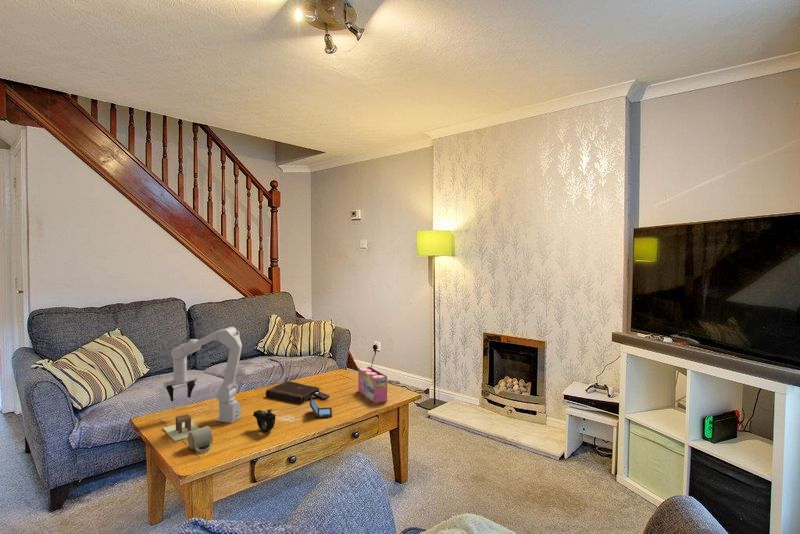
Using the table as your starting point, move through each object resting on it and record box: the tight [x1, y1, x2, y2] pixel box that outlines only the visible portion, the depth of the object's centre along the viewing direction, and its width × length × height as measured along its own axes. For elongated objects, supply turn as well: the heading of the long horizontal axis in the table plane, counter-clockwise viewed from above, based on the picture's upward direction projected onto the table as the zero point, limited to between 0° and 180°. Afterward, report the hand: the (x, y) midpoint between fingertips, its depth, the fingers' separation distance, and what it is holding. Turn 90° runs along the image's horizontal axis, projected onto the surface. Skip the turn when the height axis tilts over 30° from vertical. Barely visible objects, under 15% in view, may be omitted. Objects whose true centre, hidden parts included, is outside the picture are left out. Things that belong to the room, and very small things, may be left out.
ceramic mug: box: [187, 425, 213, 453], centre depth 179 cm, size 11×8×8 cm
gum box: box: [357, 366, 388, 404], centre depth 244 cm, size 24×8×14 cm, turn 29°
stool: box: [175, 413, 192, 433], centre depth 195 cm, size 5×5×6 cm
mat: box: [162, 420, 201, 442], centre depth 195 cm, size 18×12×1 cm, turn 43°
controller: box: [252, 409, 277, 433], centre depth 196 cm, size 4×12×10 cm, turn 56°
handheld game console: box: [309, 397, 333, 419], centre depth 216 cm, size 12×11×7 cm
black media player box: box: [265, 380, 322, 405], centre depth 243 cm, size 19×25×5 cm
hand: (180, 399), depth 210 cm, fingers open, 7 cm apart
